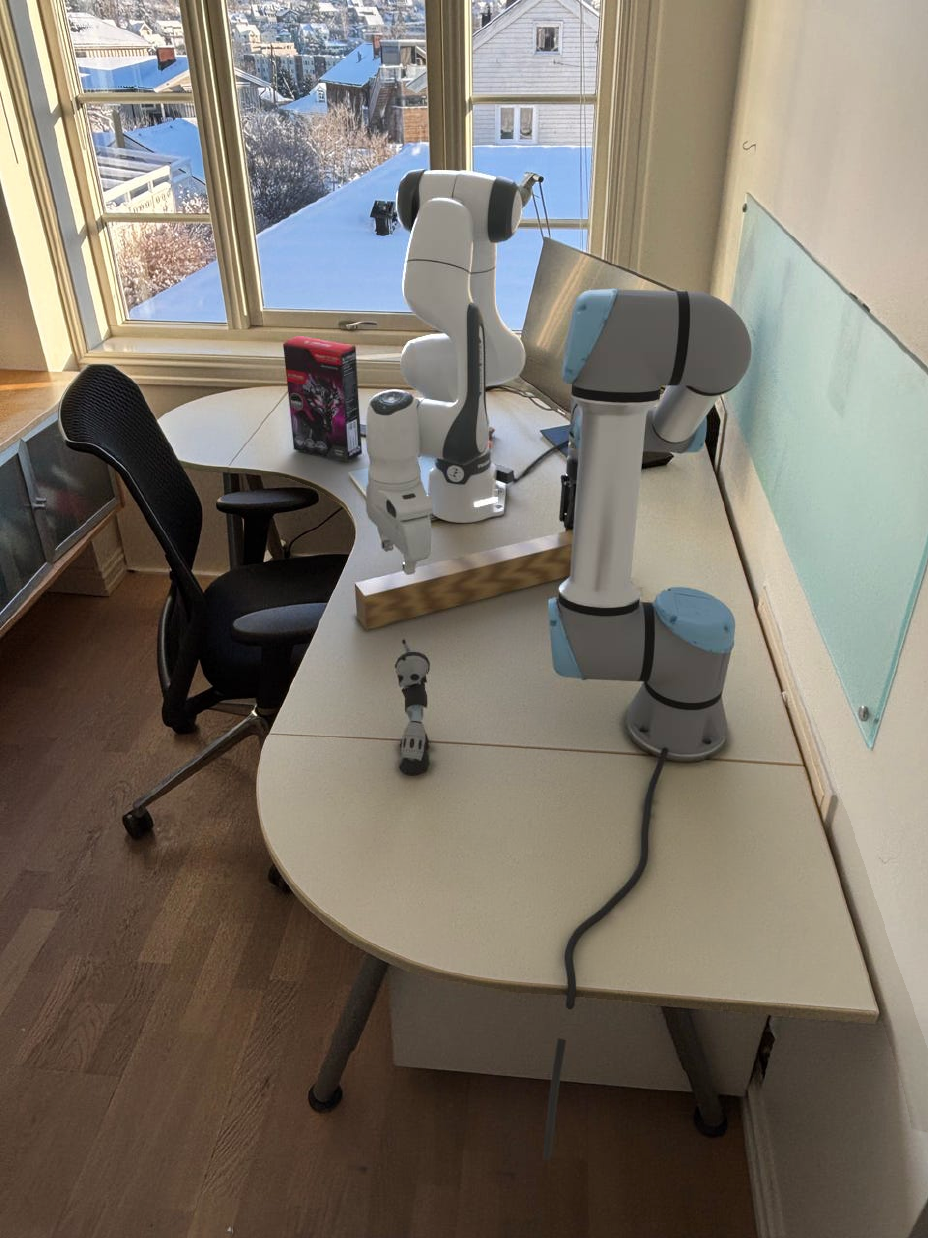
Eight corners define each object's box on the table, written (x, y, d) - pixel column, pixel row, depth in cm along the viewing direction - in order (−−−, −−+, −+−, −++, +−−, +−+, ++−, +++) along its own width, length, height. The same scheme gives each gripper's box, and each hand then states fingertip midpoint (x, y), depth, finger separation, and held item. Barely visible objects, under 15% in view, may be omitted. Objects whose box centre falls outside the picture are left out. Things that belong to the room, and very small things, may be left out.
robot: (432, 803, 130) (430, 691, 118) (397, 804, 129) (392, 692, 118) (430, 713, 146) (428, 607, 135) (399, 714, 146) (394, 608, 134)
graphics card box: (291, 450, 230) (280, 341, 215) (307, 440, 235) (297, 333, 220) (348, 464, 224) (341, 353, 209) (364, 454, 229) (358, 344, 214)
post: (601, 552, 189) (604, 521, 185) (615, 563, 186) (618, 531, 181) (356, 616, 169) (354, 582, 165) (366, 630, 165) (364, 595, 161)
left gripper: (355, 470, 162) (359, 539, 170) (402, 516, 147) (404, 591, 154) (388, 463, 165) (391, 532, 172) (437, 508, 149) (438, 582, 157)
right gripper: (545, 442, 177) (538, 548, 190) (597, 478, 163) (586, 589, 176) (578, 435, 179) (569, 540, 192) (632, 470, 166) (619, 580, 179)
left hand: (398, 560), depth 163 cm, fingers open, 8 cm apart
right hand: (577, 563), depth 184 cm, fingers closed on post, 5 cm apart
